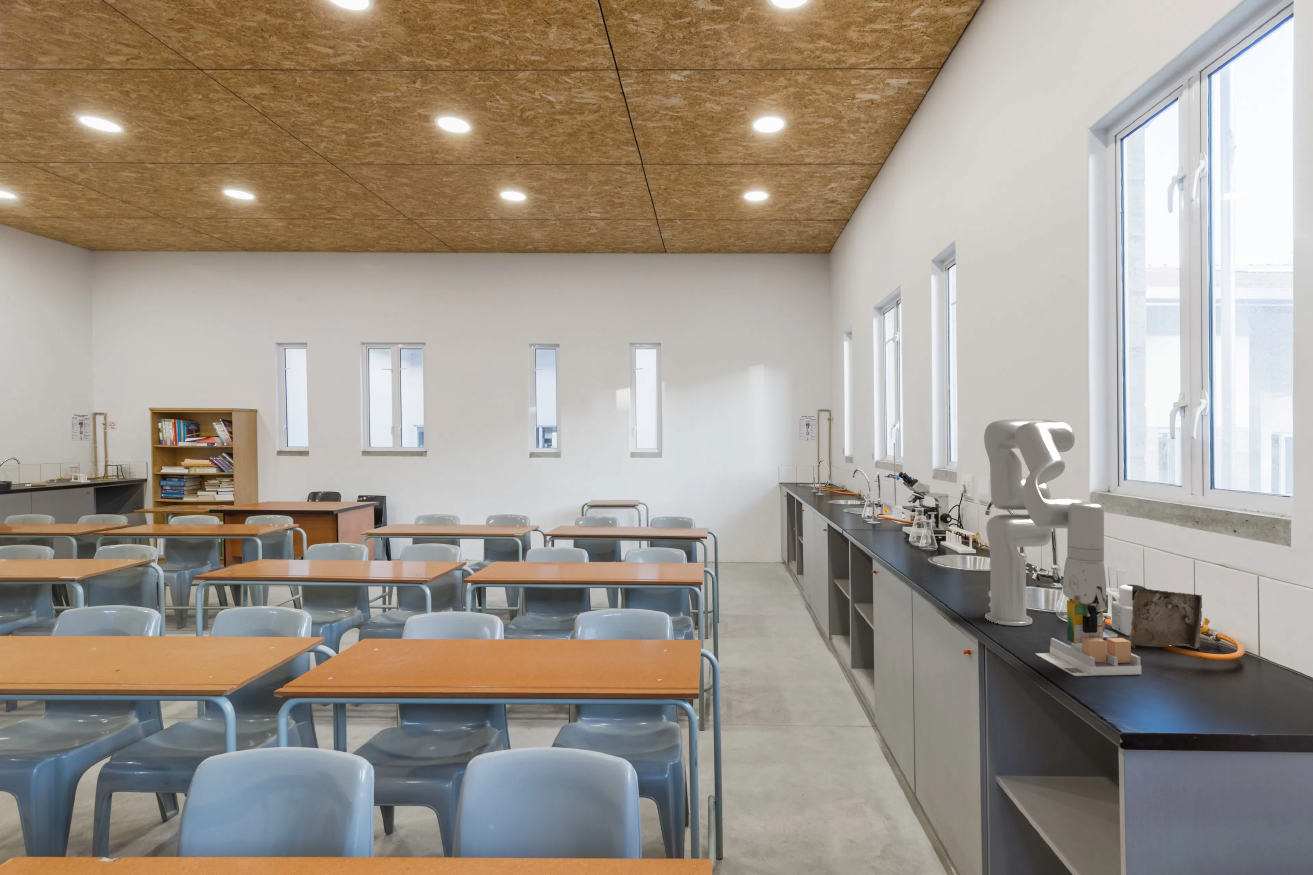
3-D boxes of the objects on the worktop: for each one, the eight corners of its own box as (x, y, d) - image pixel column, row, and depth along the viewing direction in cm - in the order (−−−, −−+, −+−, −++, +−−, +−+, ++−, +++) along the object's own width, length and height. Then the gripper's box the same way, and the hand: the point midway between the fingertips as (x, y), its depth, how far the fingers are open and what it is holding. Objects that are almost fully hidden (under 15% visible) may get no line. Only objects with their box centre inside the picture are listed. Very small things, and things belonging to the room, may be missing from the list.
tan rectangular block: (1082, 658, 169) (1081, 637, 169) (1097, 657, 169) (1097, 637, 169) (1090, 662, 166) (1090, 641, 166) (1106, 661, 166) (1105, 640, 166)
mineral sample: (1132, 648, 183) (1132, 590, 183) (1124, 644, 187) (1124, 586, 187) (1204, 651, 181) (1204, 591, 181) (1195, 646, 185) (1194, 588, 185)
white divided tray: (1035, 654, 180) (1035, 638, 180) (1096, 652, 180) (1096, 637, 180) (1074, 675, 164) (1074, 658, 164) (1141, 674, 164) (1141, 657, 164)
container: (1140, 628, 201) (1139, 582, 201) (1156, 636, 194) (1156, 588, 194) (1111, 628, 202) (1111, 582, 202) (1126, 635, 194) (1126, 588, 194)
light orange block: (1106, 658, 168) (1106, 638, 168) (1122, 658, 169) (1121, 637, 169) (1115, 662, 165) (1114, 641, 165) (1130, 662, 166) (1130, 641, 166)
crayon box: (1095, 638, 173) (1095, 591, 172) (1103, 642, 170) (1103, 594, 169) (1066, 639, 172) (1066, 592, 172) (1074, 643, 169) (1074, 595, 169)
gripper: (1050, 548, 178) (1049, 620, 179) (1092, 561, 162) (1091, 640, 163) (1079, 547, 179) (1078, 619, 179) (1124, 560, 162) (1123, 640, 163)
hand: (1085, 629), depth 171 cm, fingers closed on crayon box, 3 cm apart
